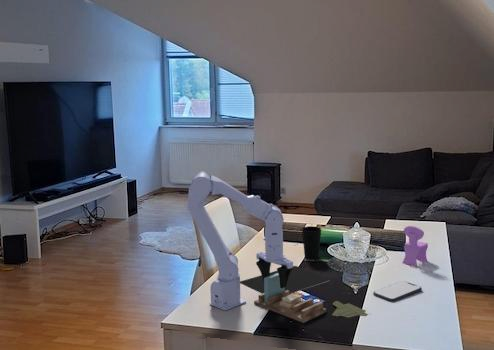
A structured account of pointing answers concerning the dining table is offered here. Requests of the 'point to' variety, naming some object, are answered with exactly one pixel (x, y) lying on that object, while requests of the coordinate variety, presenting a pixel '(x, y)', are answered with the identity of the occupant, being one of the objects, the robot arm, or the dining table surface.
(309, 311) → the rack
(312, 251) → the cup
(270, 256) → the robot arm
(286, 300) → the offcut top
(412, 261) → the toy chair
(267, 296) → the board
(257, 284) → the tablet
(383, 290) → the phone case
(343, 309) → the olive flat irregular piece
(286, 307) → the offcut low
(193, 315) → the dining table surface
